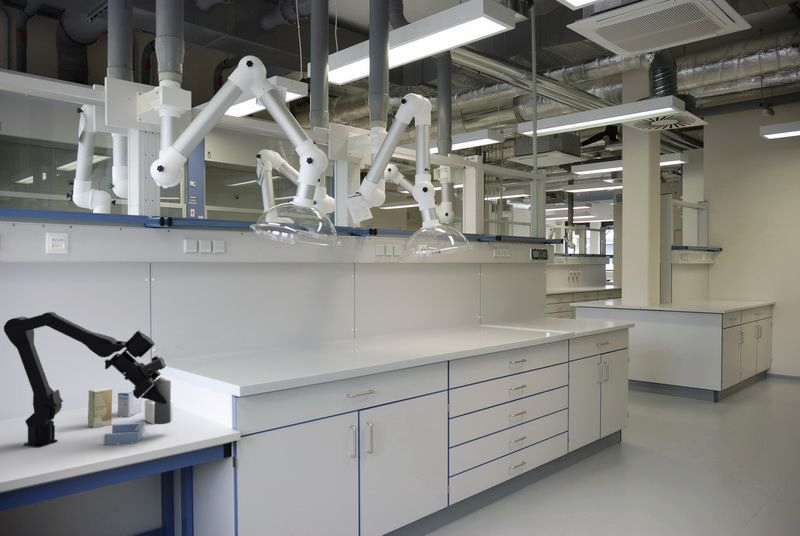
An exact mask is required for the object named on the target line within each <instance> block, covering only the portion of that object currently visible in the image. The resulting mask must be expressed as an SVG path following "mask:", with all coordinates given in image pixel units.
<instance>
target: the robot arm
mask: <svg viewBox="0 0 800 536" xmlns="http://www.w3.org/2000/svg"><path fill="white" fill-rule="evenodd" d="M42 327H48V328H51V329H53V330H55V331H56V332H58V333H61V334H63V335H64V336H68V338H71V339H73V340H75V341H77V342H79V343H82V344H83V345H84V346H86V347H87V348H88V349H89V350H90V351H91V352H93V353H94V354H95V355H96V356H98V357H101V358H108V357H110V356H112V355H113V354H114V353H115V354H114V355H113V356H112V357H111V358H110V359H106V360H104V363H105V364H104V369H105V370H108V369H109V368H110V367H111V366H112V367H113V368H114V369H116V370H117V371H118V372H119V373H120V374H121V375H122V376H124V377H123V379H124V380H126V381H129V382H130V383H132V385H134V388H133V389H134V390H133V395H134V396H135V397H136V398H137V399H138V398H139V397H140V396H141V399H145V400H152V401H155V402H158V403H162V404H166V403H167V401H166V399H165V398H164V397H163V395H162V394H161V393H160V392H159V390H158V389H157V382H156V383H155V381H159V378H160V377H161V372H159V371H161V370H163V369H165V368H166V366H167V365H166V363H165V359H164V358H163V357H159V356H158V355H156V356H153V357H152V358H151V361H150V362H147V363H146V364H144V363H143V362H139V361H137V360H136V359H137V358H142V357H144V356H145V354H147V352H148V351H150V350H151V349H152V348H153V347H154V346H155V342H154V341H153V339H152V338H151V337H150V336H148V335H146V334H145V333H143V332H142V331H140V330H137V331H136V332H135V333H134V334H133V335H132V337H130V338H129V339H128V340H127V341H124V340H123V341H122V340H117V339H116V338H114V337H112V336H109V335H106V334H102V333H98V332H93V331H91V330H89V329H86V328H85V327H83V326H80V325H79V324H76V323H75V322H72V321H70V320H69V319H66V318H64V317H63V316H60V315H58V314H57V313H56V312H53V311H47V312H45V313H42V314H40V315H37V316H32V317H26V316H17V317H12V318H10V319H9V320H7V321H6V323H5V324H4V326H3V332H4V333H5V335H6V337H7V338H8V340H9V341H10V343H11V344H12V345H13V346H14V347H15V348H16V349H17V352H18V354H19V358H20V360H21V364H22V366H23V367H24V372H25V374H26V377H27V379H28V382H29V384H30V387H31V390H32V406H33V413H32V414H31V415H30V416H29V417H28V418H27V419H26V420H25V424H26V426H27V441H26V442H24V443H23V445H24V446H29V447H35V448H41V447H44V446H47V445H51V444H53V443H57V442H58V439H55V437H56V433H55V432H56V429H55V427H56V426H55V424H54V423H55V421H54V419H55V417H56V416H57V415H58V414H59V413H60V411H61V409H62V408H63V407H62V406H63V404H62V403H63V402H64V400H63V399H62V397H61V394H60V390H59V389H56V390H55V391H54V390H53V389H52V388H51V386H50V385H49V382H48V378H47V376H46V373H45V371H44V368H43V366H42V363H41V359H40V357H39V354H38V351H37V349H36V346H35V329H39V328H42ZM123 349H125V350H123ZM122 350H123V351H122ZM120 351H122V352H121V353H119V352H120ZM135 358H136V359H135ZM159 376H160V377H159Z"/></svg>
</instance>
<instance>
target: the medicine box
mask: <svg viewBox="0 0 800 536" xmlns="http://www.w3.org/2000/svg"><path fill="white" fill-rule="evenodd" d="M134 389H135V388H129V389H126V390H123V391H120V392H118V393H117V417H118V416H122V417H121V418H130V417H132V416H134V415H136V414H139V413H142V412H141V411H142V398H141V396H140V397H139V398H138V399H137V398H136V397H135V396H134V395H133V390H134Z"/></svg>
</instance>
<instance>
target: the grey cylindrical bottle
mask: <svg viewBox="0 0 800 536" xmlns="http://www.w3.org/2000/svg"><path fill="white" fill-rule="evenodd" d="M158 378H159V377H158ZM156 382H157V389H158V390H159V392H160V393H161V394H162V395H163V397H164V398H165V399H166V401H167V403H166V404H162V403H158V402H155V401H154V423H155V424H154V425H165V424H169V423H171V421H170V413H171V400H172V399H171V393H172V391H171V388H172V386H171V384H172V383H171V380H170V379H169V380H168V379H167V377H166V376H164V377H163V376H160V378H159V381H155V383H156Z"/></svg>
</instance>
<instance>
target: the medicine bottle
mask: <svg viewBox="0 0 800 536" xmlns="http://www.w3.org/2000/svg"><path fill="white" fill-rule="evenodd" d="M173 405H174V401H173V400H172V399H171V413H170V422H171V421H173V420H174V410H173V409H174V406H173ZM144 421H146V422H147V423H150V424H152V425H156V424H155V423H154V401H152V400H149V399H145V400H144Z"/></svg>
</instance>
